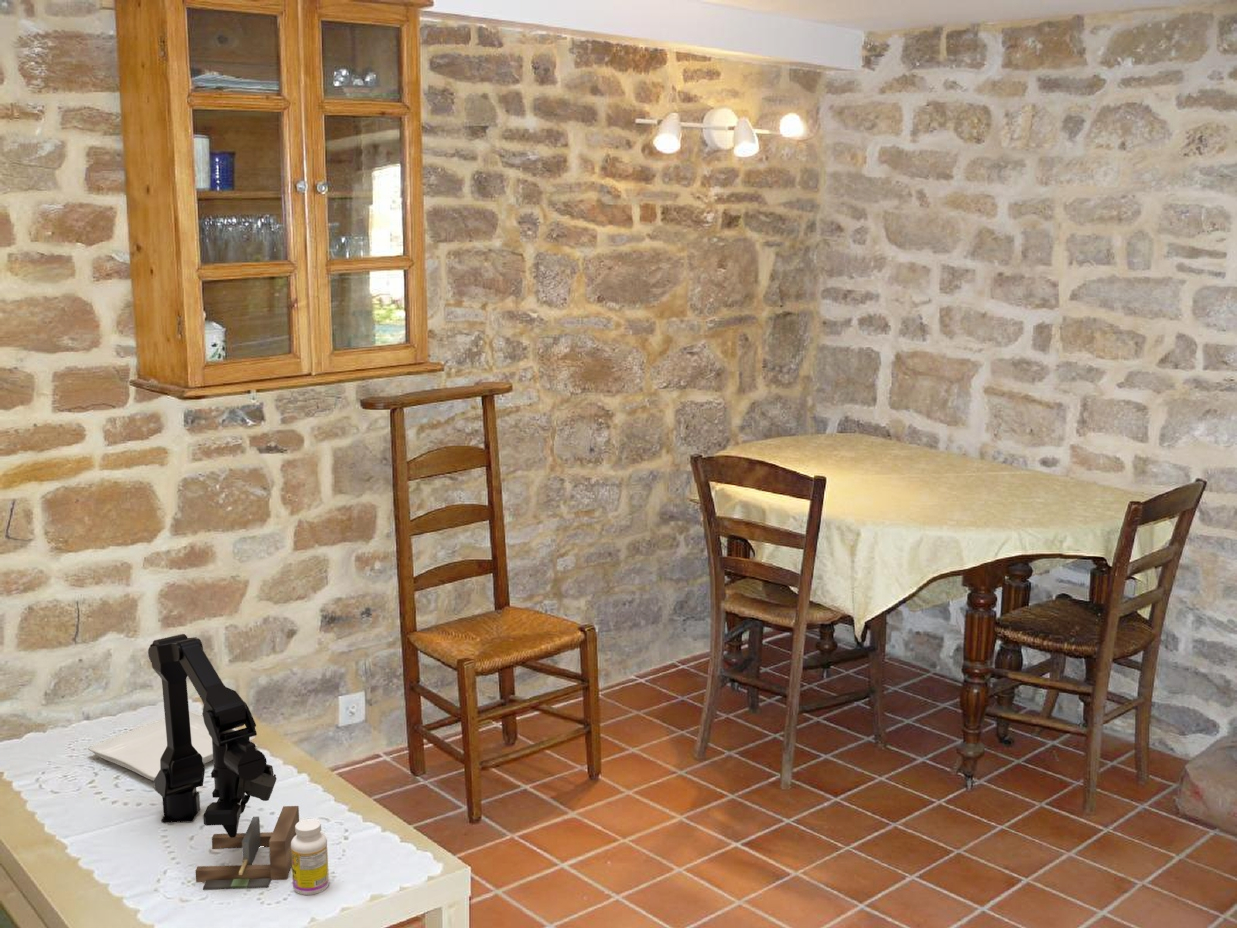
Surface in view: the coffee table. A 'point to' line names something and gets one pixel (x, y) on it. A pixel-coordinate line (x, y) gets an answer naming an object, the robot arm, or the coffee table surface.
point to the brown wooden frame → (254, 873)
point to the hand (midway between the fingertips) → (233, 836)
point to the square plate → (152, 746)
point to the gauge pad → (250, 843)
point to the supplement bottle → (309, 858)
